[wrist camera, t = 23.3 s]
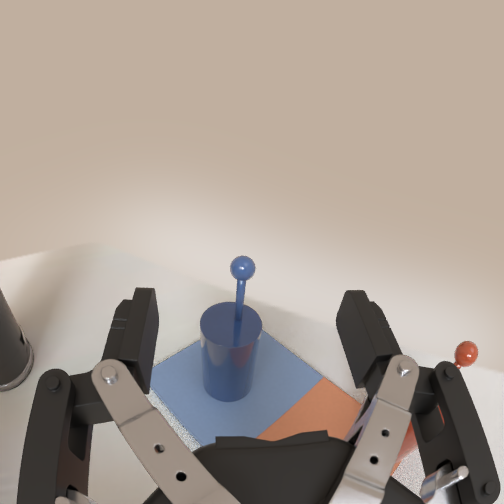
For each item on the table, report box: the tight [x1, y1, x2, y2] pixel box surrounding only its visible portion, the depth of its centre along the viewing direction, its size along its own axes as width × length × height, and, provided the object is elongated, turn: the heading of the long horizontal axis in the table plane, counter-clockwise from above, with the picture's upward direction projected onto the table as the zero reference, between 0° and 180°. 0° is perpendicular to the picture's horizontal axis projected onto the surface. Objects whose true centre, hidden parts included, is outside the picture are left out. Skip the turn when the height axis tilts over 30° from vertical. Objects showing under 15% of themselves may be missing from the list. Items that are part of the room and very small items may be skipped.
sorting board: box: [150, 330, 402, 476], centre depth 31 cm, size 16×28×1 cm, turn 45°
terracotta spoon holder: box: [394, 341, 478, 465], centre depth 23 cm, size 6×6×17 cm
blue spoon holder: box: [200, 256, 262, 402], centre depth 29 cm, size 6×6×17 cm
